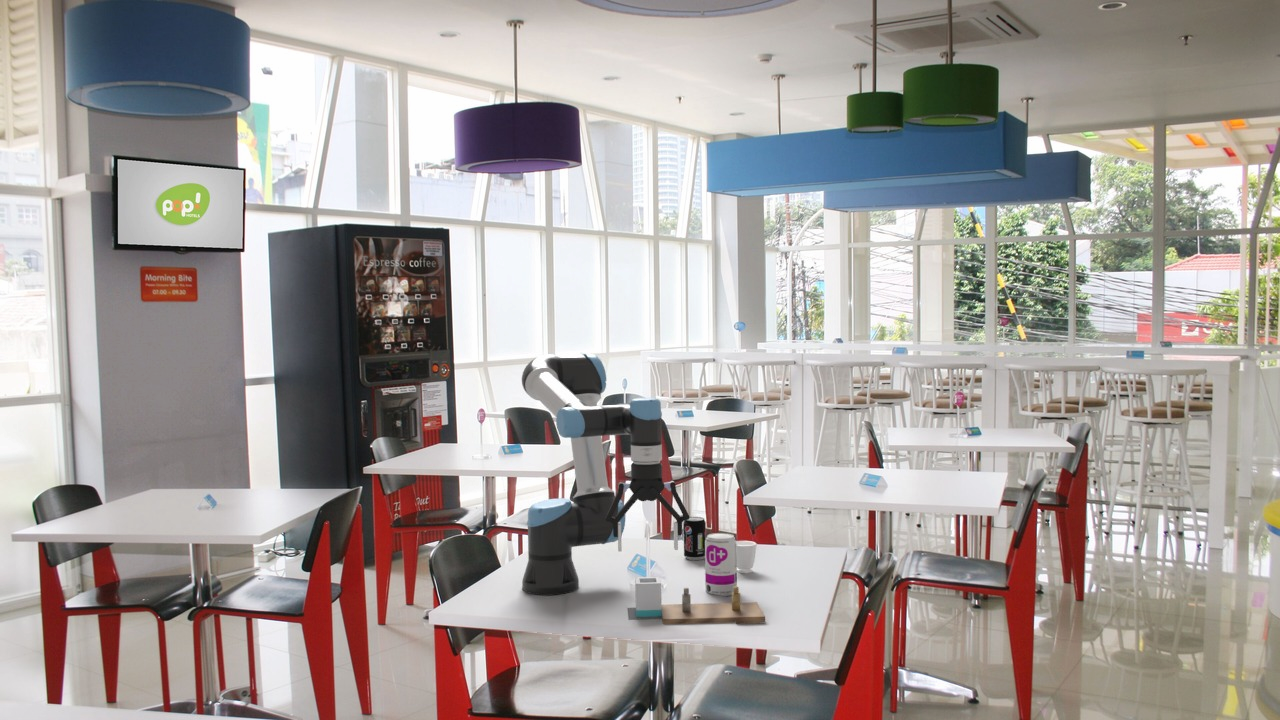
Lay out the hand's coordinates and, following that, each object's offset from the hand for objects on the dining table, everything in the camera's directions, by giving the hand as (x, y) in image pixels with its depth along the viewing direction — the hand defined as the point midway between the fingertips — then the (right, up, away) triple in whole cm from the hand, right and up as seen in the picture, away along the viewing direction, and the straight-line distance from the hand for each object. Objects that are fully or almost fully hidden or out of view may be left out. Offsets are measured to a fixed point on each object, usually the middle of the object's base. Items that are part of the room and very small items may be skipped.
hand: (647, 549), depth 238 cm
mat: (0, -16, +1) cm, 16 cm away
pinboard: (+15, -16, -2) cm, 22 cm away
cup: (+26, -14, +42) cm, 51 cm away
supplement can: (+19, -15, +20) cm, 31 cm away
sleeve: (0, -16, +1) cm, 16 cm away
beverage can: (+15, -14, +58) cm, 62 cm away
